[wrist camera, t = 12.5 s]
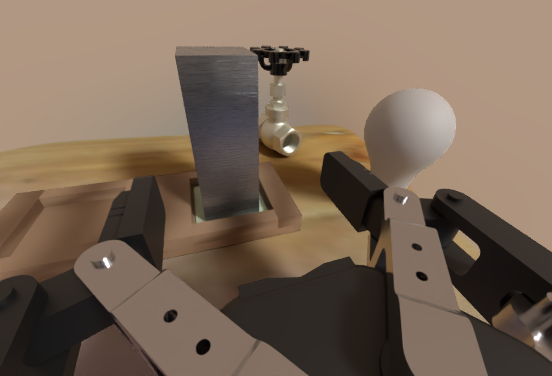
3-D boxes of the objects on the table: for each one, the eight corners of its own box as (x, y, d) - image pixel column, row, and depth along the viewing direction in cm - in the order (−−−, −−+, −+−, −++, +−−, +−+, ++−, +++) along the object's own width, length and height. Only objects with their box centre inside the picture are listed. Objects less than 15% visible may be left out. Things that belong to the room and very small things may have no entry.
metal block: (205, 222, 20) (174, 55, 13) (202, 190, 23) (176, 46, 16) (259, 212, 21) (257, 55, 14) (248, 183, 24) (242, 46, 17)
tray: (-45, 303, 15) (-69, 286, 14) (28, 209, 22) (16, 193, 20) (299, 230, 20) (301, 214, 19) (270, 175, 27) (270, 161, 26)
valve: (268, 165, 29) (270, 53, 23) (243, 144, 34) (238, 46, 27) (309, 152, 33) (322, 51, 26) (281, 135, 37) (286, 44, 30)
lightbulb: (360, 235, 20) (405, 102, 14) (336, 192, 25) (361, 79, 19) (426, 230, 21) (498, 102, 15) (390, 190, 26) (432, 80, 20)
